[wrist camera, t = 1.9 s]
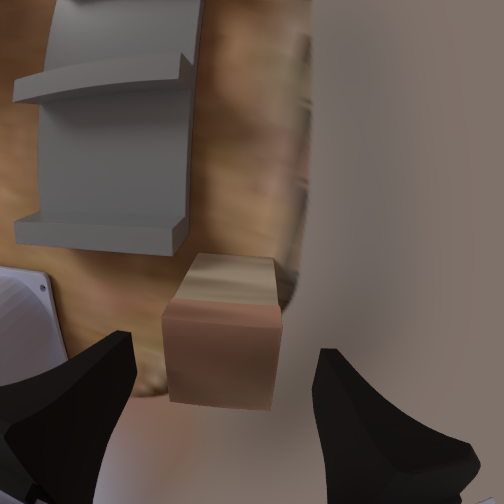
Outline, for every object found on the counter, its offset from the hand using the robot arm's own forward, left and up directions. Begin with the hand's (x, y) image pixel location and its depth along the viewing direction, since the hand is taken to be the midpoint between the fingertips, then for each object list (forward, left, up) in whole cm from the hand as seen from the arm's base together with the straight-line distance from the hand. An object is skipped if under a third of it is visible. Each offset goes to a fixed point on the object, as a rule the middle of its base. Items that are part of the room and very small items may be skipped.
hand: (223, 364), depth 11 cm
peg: (0, 0, -7) cm, 7 cm away
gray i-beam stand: (+11, +7, -7) cm, 15 cm away
